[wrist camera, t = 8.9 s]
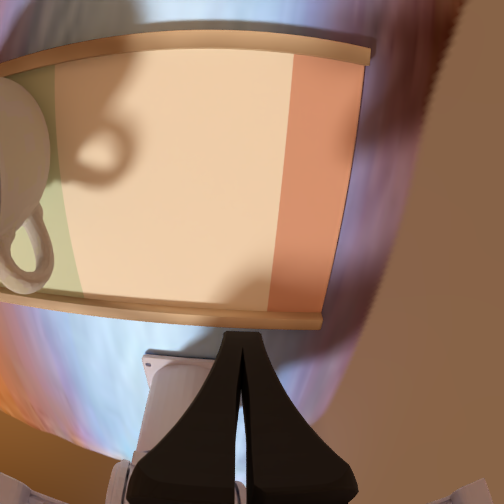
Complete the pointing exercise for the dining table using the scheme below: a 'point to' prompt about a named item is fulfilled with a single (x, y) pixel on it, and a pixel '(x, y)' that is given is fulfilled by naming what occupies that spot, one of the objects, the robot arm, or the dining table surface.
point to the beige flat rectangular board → (193, 175)
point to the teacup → (23, 186)
